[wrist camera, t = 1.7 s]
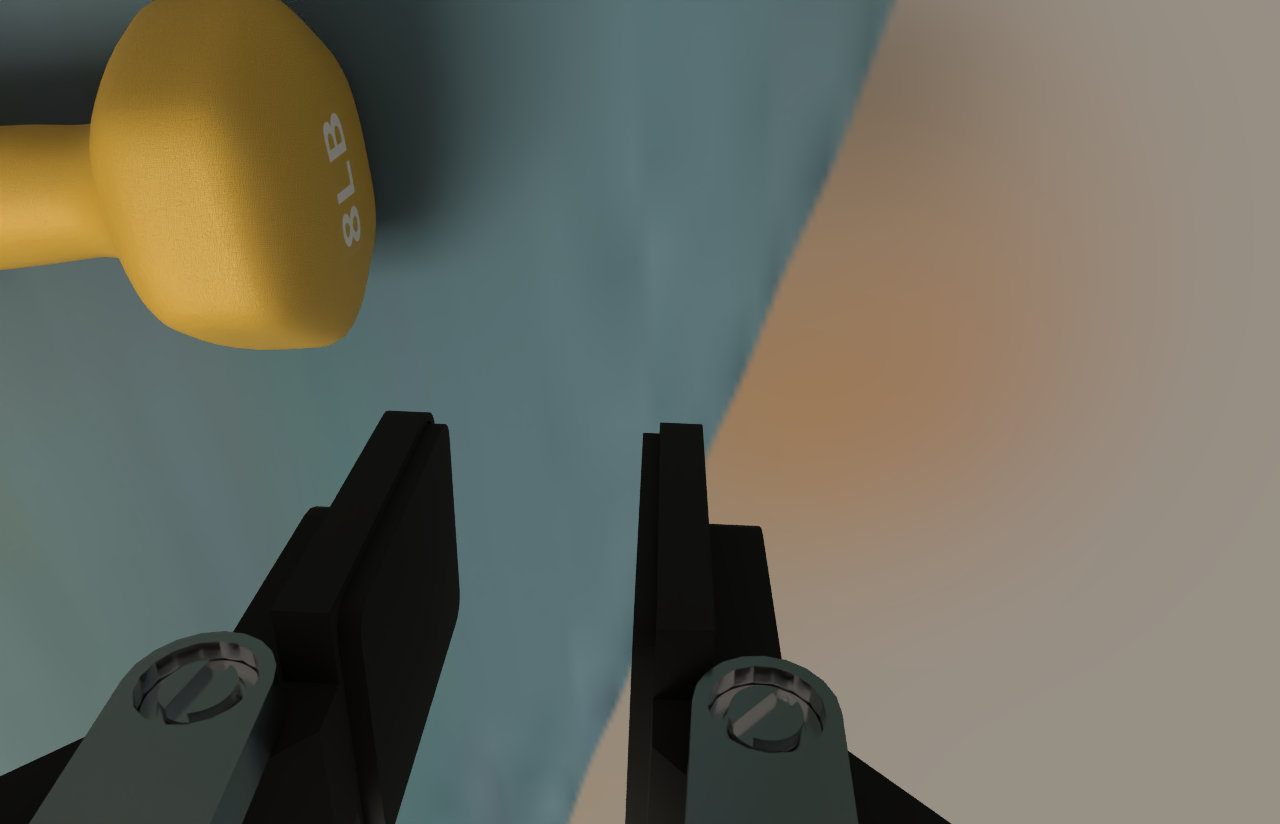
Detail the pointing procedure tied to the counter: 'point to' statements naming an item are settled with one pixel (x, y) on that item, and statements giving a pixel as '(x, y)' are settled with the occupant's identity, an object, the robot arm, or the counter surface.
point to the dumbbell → (208, 177)
